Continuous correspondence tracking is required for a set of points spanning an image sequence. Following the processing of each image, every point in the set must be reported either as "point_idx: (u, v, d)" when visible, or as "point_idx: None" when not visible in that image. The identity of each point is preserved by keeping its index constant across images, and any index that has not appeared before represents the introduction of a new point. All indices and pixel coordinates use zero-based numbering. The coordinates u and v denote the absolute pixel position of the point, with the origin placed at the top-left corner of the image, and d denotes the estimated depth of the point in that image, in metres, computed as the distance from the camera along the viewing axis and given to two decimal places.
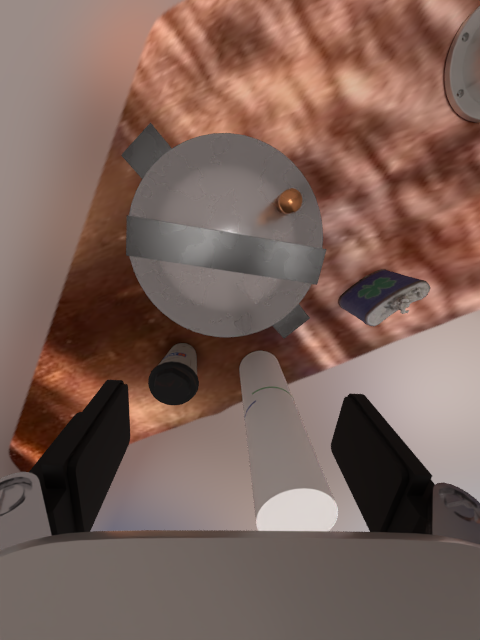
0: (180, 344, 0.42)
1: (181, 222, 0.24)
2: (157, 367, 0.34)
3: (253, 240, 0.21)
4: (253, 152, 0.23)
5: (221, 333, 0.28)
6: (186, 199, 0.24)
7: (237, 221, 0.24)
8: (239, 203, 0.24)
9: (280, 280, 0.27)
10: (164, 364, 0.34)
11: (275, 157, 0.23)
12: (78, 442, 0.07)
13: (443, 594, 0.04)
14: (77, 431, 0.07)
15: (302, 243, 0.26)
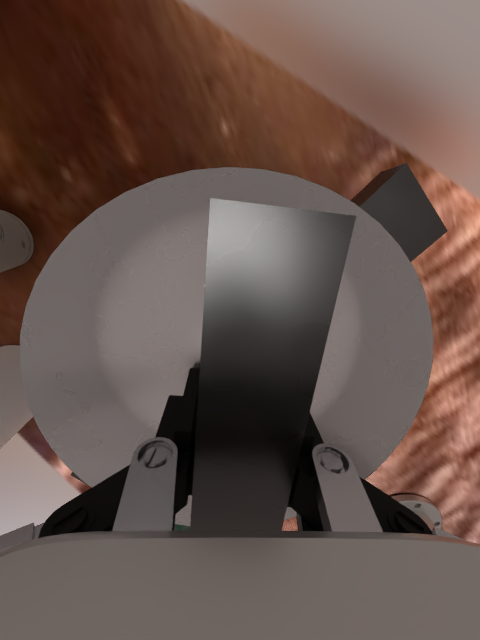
0: (27, 236, 0.21)
1: None
2: None
3: None
4: (394, 422, 0.13)
5: (34, 396, 0.12)
6: None
7: None
8: (316, 408, 0.13)
9: None
10: None
11: (382, 451, 0.14)
12: (193, 415, 0.08)
13: (443, 594, 0.04)
14: (188, 407, 0.09)
15: None
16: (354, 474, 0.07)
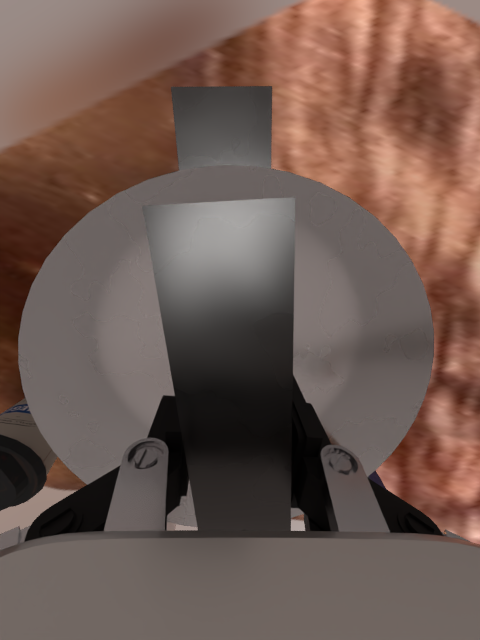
0: None
1: None
2: None
3: (282, 528, 0.08)
4: (404, 399, 0.13)
5: (44, 422, 0.12)
6: (315, 301, 0.11)
7: None
8: (320, 396, 0.13)
9: None
10: None
11: (397, 430, 0.14)
12: None
13: (443, 594, 0.04)
14: None
15: None
16: (363, 476, 0.07)
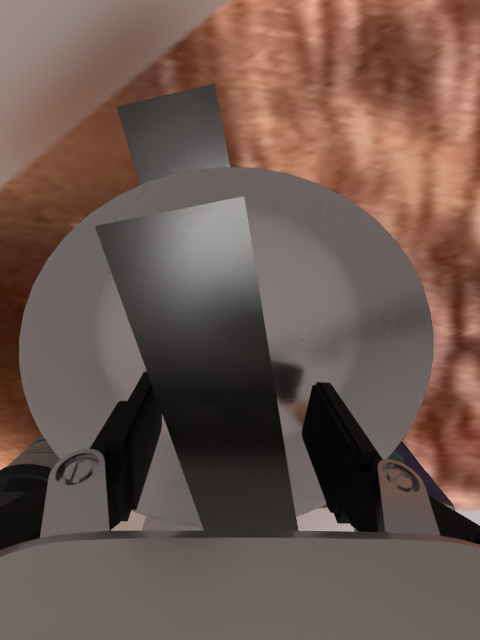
0: None
1: None
2: (16, 468, 0.19)
3: (288, 524, 0.08)
4: (409, 381, 0.13)
5: (55, 441, 0.13)
6: (302, 293, 0.11)
7: (289, 395, 0.12)
8: None
9: None
10: (31, 469, 0.19)
11: (406, 414, 0.13)
12: (131, 424, 0.08)
13: (443, 594, 0.04)
14: (128, 415, 0.08)
15: None
16: (424, 497, 0.07)
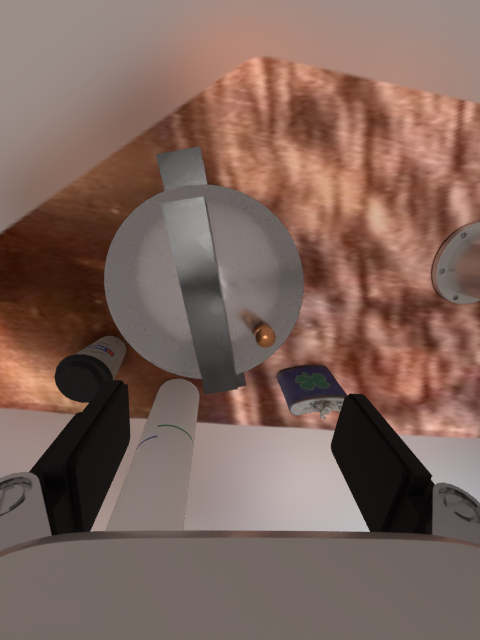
0: (114, 338, 0.39)
1: (215, 242, 0.23)
2: (76, 356, 0.31)
3: (223, 327, 0.21)
4: (293, 291, 0.26)
5: (115, 315, 0.25)
6: (238, 242, 0.24)
7: (234, 295, 0.25)
8: (249, 292, 0.25)
9: None
10: (85, 356, 0.31)
11: (294, 310, 0.26)
12: (78, 442, 0.07)
13: (443, 594, 0.04)
14: (77, 431, 0.07)
15: (235, 357, 0.27)
16: None
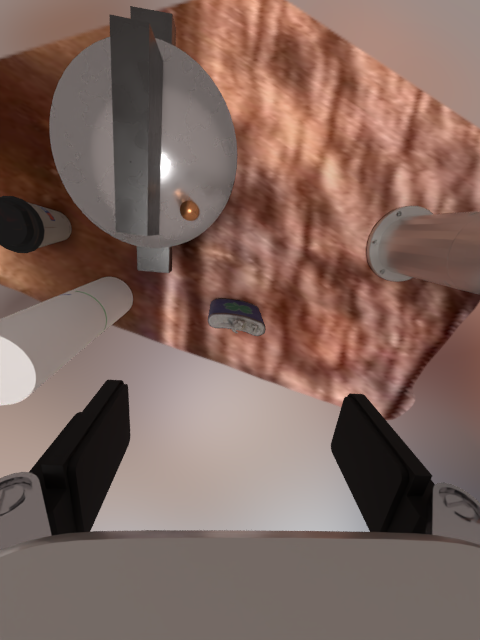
0: (61, 214, 0.40)
1: (163, 103, 0.26)
2: (12, 197, 0.32)
3: (144, 165, 0.23)
4: (225, 178, 0.28)
5: (55, 146, 0.26)
6: (184, 110, 0.26)
7: (170, 164, 0.27)
8: (185, 165, 0.28)
9: None
10: (21, 201, 0.32)
11: (222, 198, 0.29)
12: (78, 442, 0.07)
13: (443, 594, 0.04)
14: (77, 431, 0.07)
15: (160, 229, 0.30)
16: None
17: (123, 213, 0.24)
